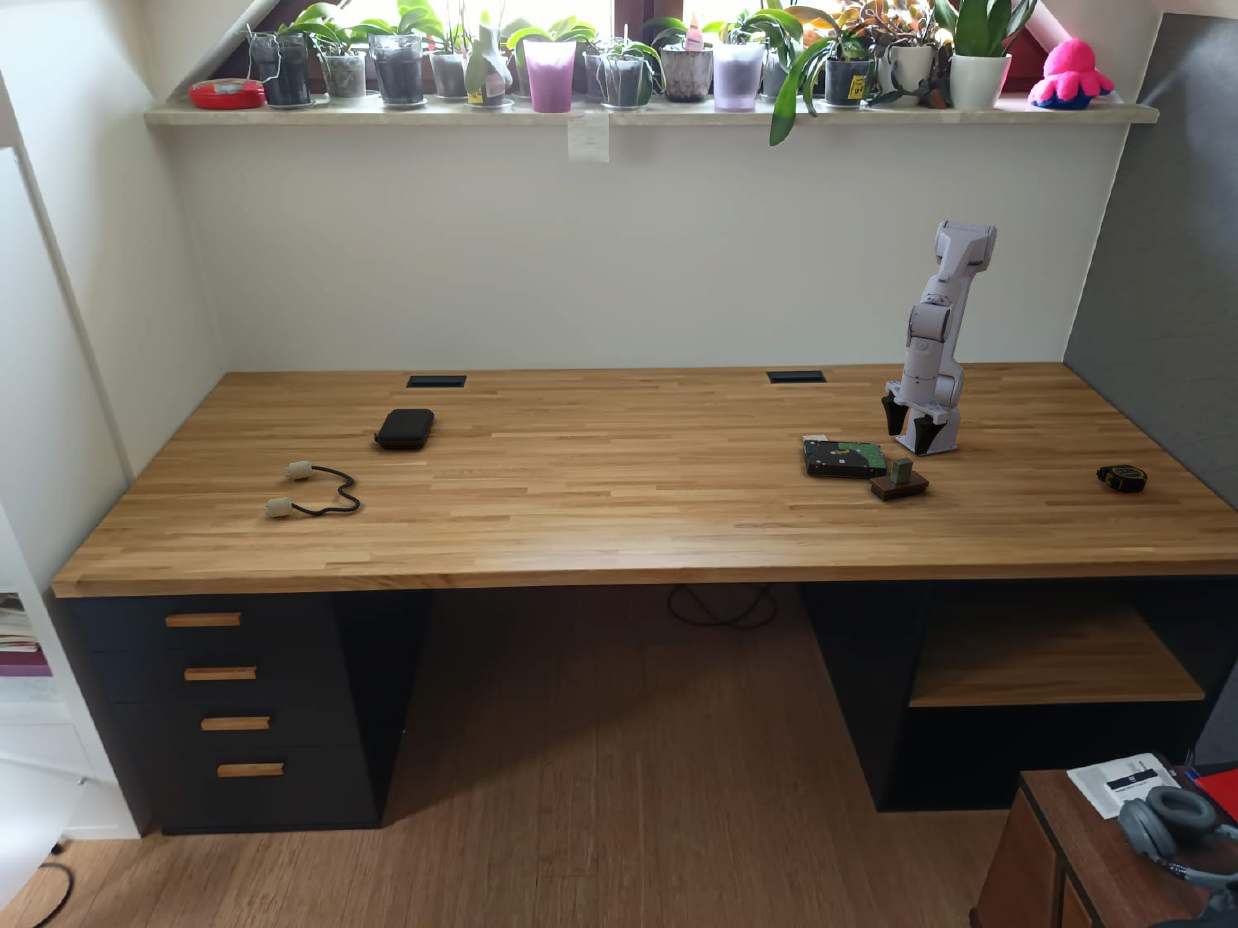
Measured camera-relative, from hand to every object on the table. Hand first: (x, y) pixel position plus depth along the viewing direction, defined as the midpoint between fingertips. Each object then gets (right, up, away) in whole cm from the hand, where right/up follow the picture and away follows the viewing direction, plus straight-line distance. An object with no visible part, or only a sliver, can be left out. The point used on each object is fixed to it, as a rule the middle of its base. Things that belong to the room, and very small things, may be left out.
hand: (907, 443), depth 155 cm
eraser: (-11, +2, +21) cm, 24 cm away
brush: (0, -9, +5) cm, 10 cm away
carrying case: (-95, +2, +23) cm, 98 cm away
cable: (-106, -9, +2) cm, 106 cm away
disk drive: (-8, -4, +14) cm, 16 cm away
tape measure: (+42, -8, +7) cm, 43 cm away
